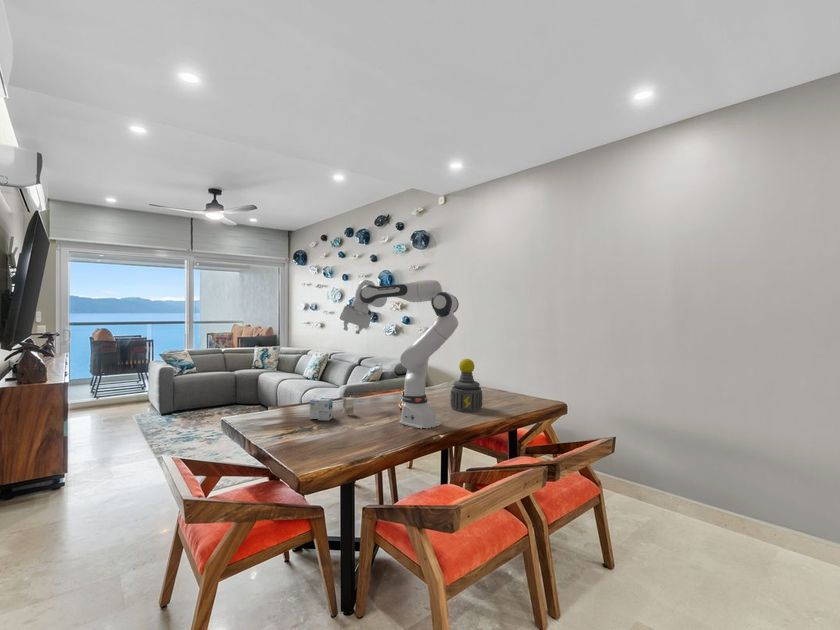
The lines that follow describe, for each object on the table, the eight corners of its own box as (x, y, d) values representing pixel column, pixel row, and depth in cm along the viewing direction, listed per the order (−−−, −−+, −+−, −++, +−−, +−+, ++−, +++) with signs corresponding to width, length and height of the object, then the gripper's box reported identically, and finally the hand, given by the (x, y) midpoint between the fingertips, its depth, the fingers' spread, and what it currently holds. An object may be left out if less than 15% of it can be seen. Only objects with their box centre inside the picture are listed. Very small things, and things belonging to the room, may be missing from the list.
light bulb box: (332, 417, 227) (333, 397, 226) (329, 420, 220) (329, 400, 220) (313, 416, 228) (313, 396, 227) (309, 420, 221) (309, 399, 221)
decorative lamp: (449, 404, 261) (450, 356, 260) (480, 405, 260) (481, 357, 260) (450, 412, 242) (451, 360, 242) (483, 413, 241) (484, 360, 241)
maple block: (353, 414, 233) (353, 398, 233) (346, 415, 230) (347, 399, 230) (349, 412, 237) (349, 397, 237) (342, 413, 234) (342, 397, 234)
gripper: (349, 304, 223) (341, 329, 222) (374, 313, 239) (367, 337, 238) (341, 302, 227) (334, 326, 226) (366, 311, 243) (359, 334, 242)
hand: (351, 332), depth 232 cm, fingers open, 8 cm apart
